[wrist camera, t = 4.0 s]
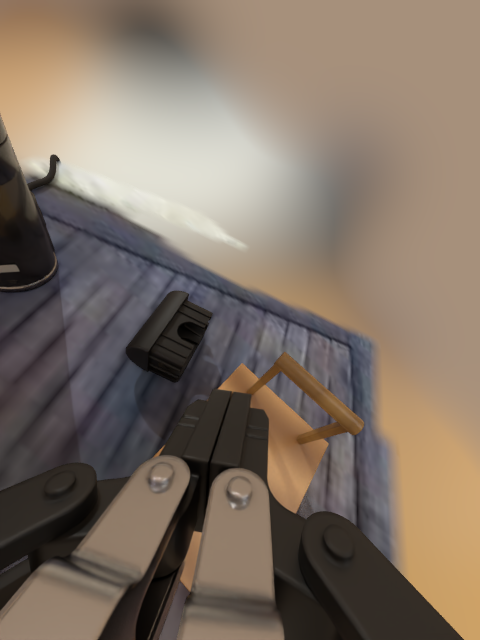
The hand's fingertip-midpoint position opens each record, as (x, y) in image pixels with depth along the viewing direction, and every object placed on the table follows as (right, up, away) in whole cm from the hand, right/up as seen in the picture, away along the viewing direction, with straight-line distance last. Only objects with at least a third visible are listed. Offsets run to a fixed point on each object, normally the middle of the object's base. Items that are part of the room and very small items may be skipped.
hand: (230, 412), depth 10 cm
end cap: (-10, 0, +26) cm, 28 cm away
